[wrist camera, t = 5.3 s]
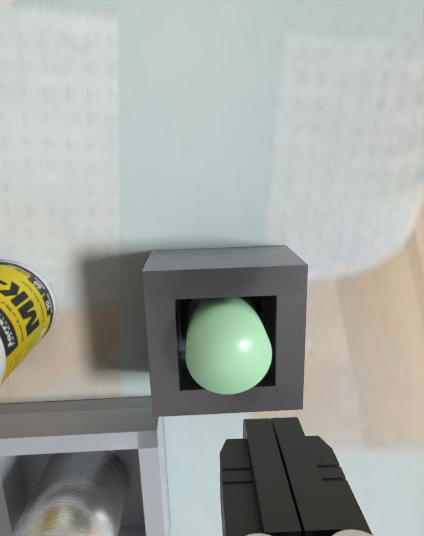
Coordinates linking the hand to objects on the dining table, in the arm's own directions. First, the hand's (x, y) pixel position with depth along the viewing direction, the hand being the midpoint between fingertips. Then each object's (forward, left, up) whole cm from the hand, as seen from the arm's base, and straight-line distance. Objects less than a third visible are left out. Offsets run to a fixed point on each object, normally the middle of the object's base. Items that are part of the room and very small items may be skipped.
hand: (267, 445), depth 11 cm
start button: (+1, 0, -10) cm, 10 cm away
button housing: (+1, 0, -11) cm, 11 cm away
